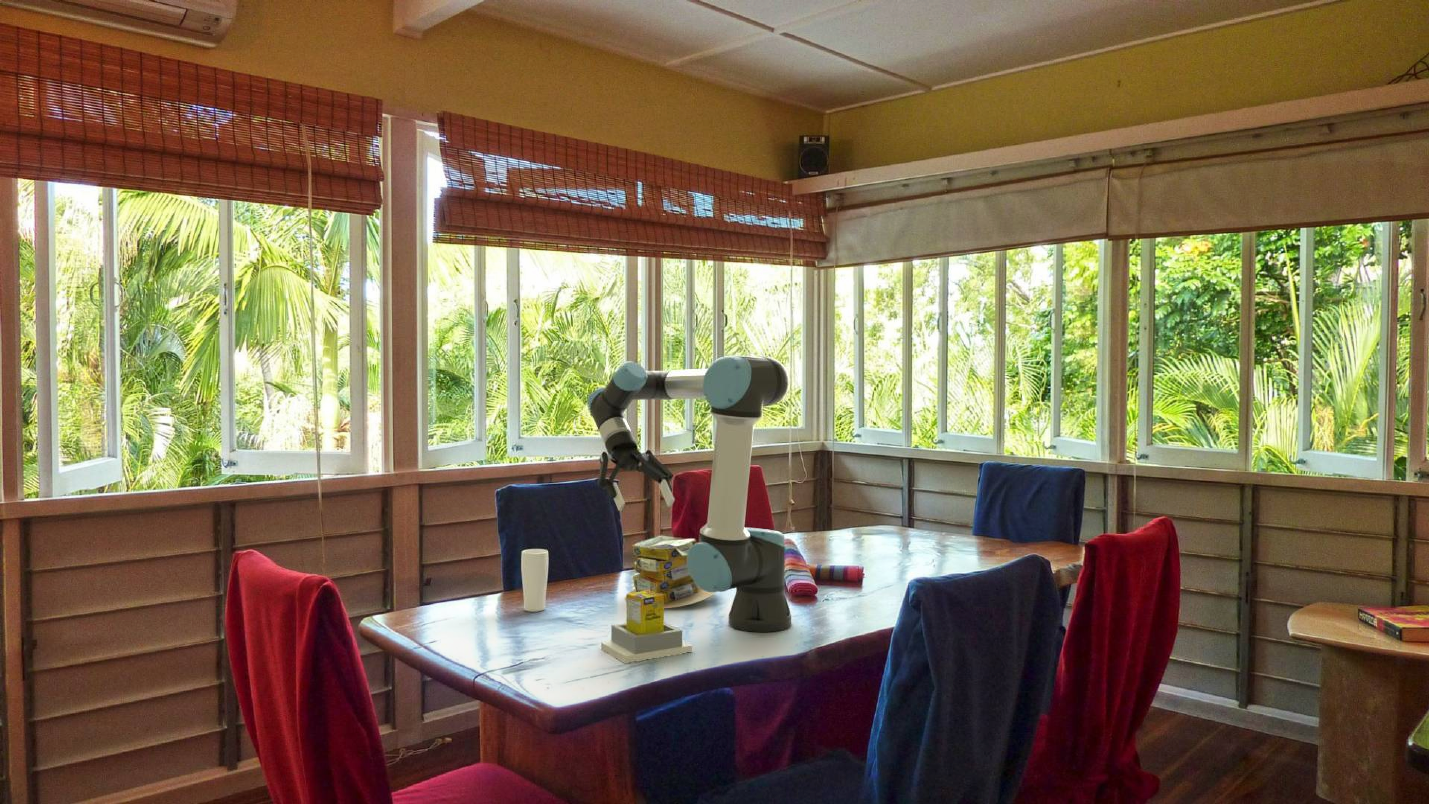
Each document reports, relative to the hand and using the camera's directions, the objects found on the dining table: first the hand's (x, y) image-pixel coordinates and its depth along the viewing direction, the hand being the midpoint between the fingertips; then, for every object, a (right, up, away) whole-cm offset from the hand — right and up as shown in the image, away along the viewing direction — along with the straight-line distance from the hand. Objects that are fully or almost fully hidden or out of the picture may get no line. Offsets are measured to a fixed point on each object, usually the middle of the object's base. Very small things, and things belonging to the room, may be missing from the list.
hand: (647, 505), depth 230 cm
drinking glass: (-29, -28, +13) cm, 43 cm away
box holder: (+1, -29, -22) cm, 37 cm away
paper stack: (+5, -28, +26) cm, 38 cm away
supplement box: (+1, -28, -22) cm, 36 cm away
